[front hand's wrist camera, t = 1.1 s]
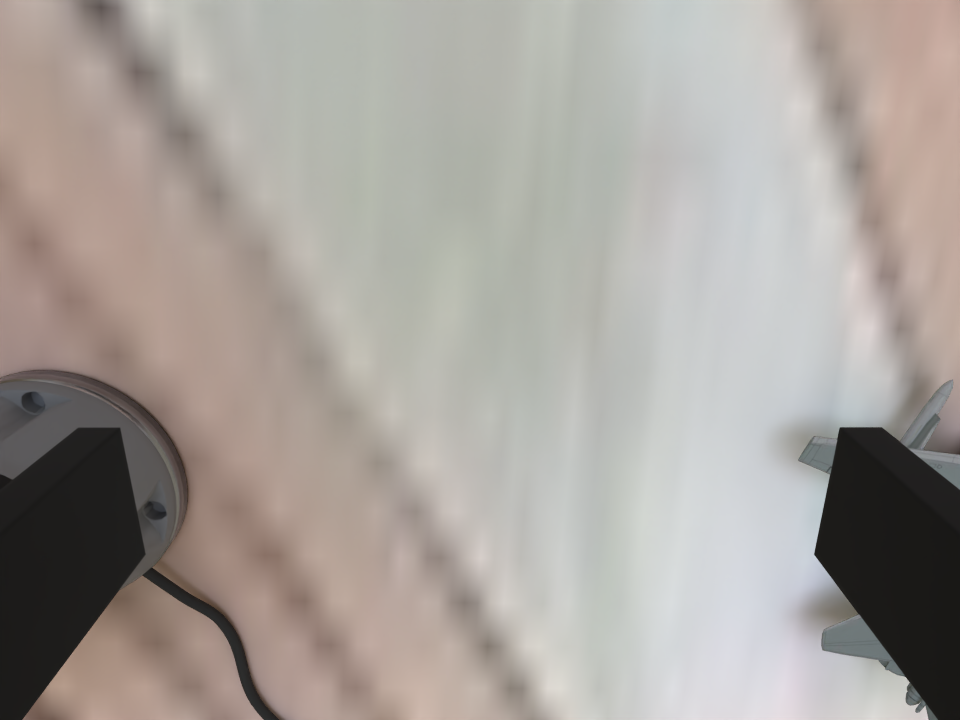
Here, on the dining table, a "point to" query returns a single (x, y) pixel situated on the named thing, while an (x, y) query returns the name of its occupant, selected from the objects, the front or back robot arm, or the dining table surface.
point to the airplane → (954, 467)
